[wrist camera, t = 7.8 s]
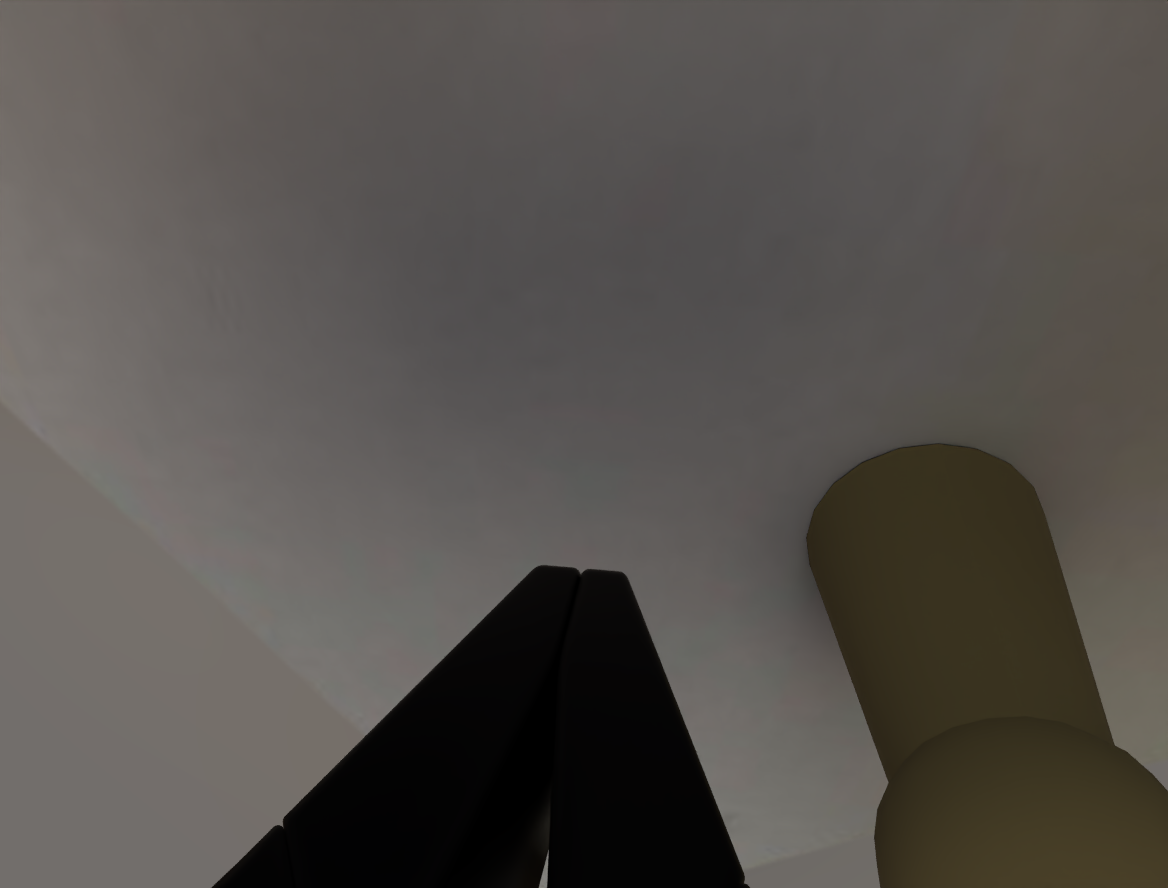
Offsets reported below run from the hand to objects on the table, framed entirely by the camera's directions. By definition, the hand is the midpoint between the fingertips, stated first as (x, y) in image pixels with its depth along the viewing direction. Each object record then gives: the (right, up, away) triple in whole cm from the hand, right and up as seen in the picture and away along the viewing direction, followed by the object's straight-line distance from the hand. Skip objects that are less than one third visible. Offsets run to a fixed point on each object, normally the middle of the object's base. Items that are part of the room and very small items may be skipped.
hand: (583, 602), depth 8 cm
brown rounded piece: (+9, -1, +15) cm, 17 cm away
